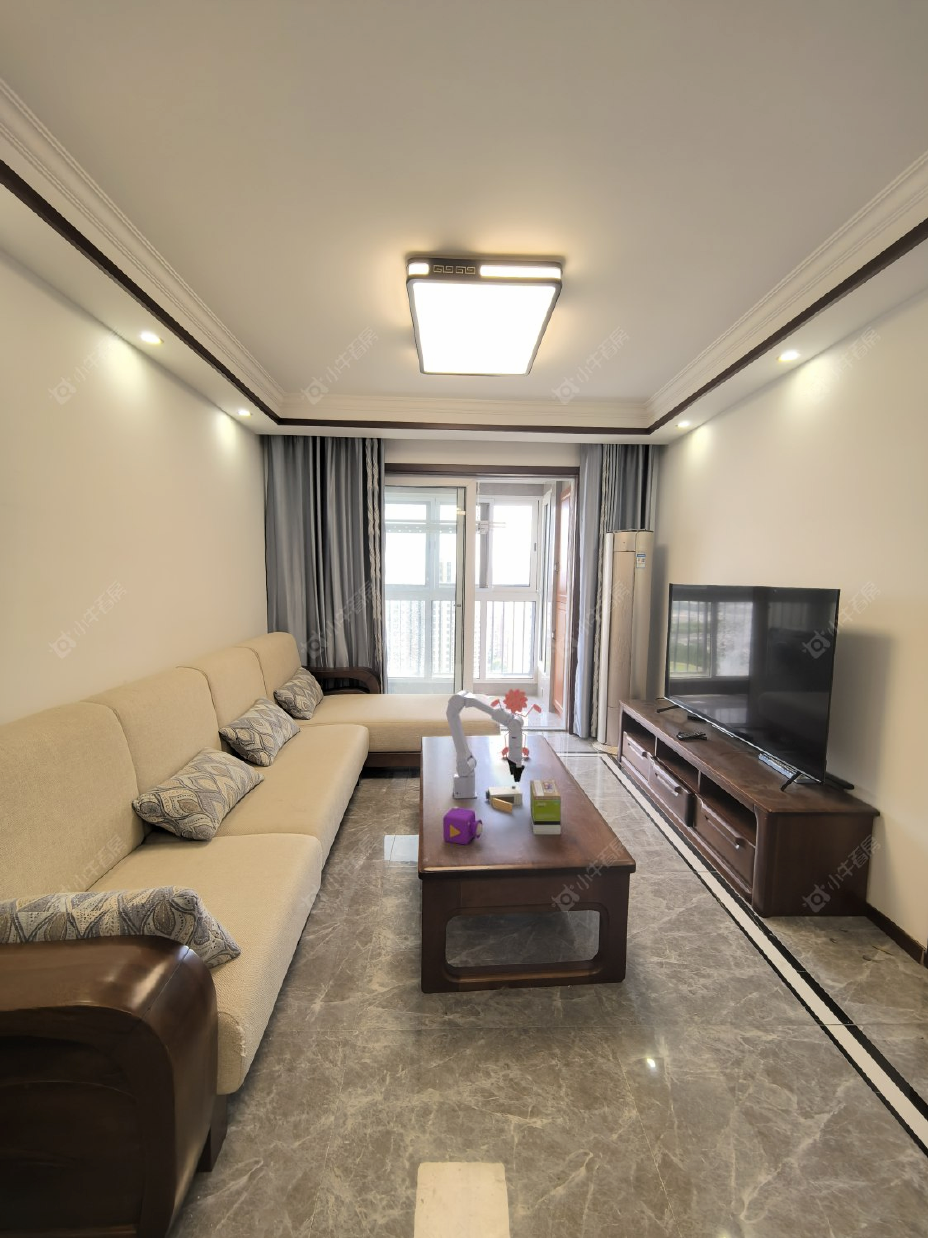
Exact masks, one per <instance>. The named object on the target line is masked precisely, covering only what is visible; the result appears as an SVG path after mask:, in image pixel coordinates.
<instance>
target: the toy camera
mask: <svg viewBox="0 0 928 1238" xmlns="http://www.w3.org/2000/svg"><path fill="white" fill-rule="evenodd" d="M442 818H443V819H442V820H443V821H442V823H443V824H442V825H443V826H442V828H443V829H442V830H443V831H442V832H443V833H442V834H443V839H444V840H443V841H445V842H449V843H454V844H460V845H467V844H468V843H469V842H470V841H471V840H472V839H473V837H474V838H475V839H477V840H478V839H480V838H481V835H482V833H483V820H482V819H478V820H476V812H475V811H474V810H472V809H467V808H462V807H459V806H455V805H454V806H453V807H452V808H451V809H450V810H449V811H448V812H447V813H445V814H444V816H443V817H442Z"/></svg>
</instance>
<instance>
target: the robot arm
mask: <svg viewBox="0 0 928 1238" xmlns="http://www.w3.org/2000/svg"><path fill="white" fill-rule="evenodd" d="M447 702H448V704H447V707H446V712H445V714H446V715H445V716H446V719H447V722H448V726H449V729H450V733H451V737H452V741H453V745H454V747H455V751H456V759H455V762H456V772H457V773H455V774H453V776H452V783H453V784H452V792H453V793H452V794H453V797H454V799H472V798H473V799H475V798H476V799H477V798H478V795H477V791H476V771H475V768H476V767H477V759H476V758H475V756H474V754H473V752H472V751H471V750H470V749H469V745H468V741H467V738H466V737H467V736H466V735H465V730H464V728H463V723H462V719H461V716H460V713H461V712H462V710H463V709H464V708H465V709H467V708H475V709H477V710H479V711H481V712H484V713H486V714H487V715H489V716H491V719H492V720H493V721H495V722H496V723H498V724H501V725H502V726H503V727H506V728H507V731H508V732H509V733H508V742H507V743H508V746H507V747H508V752H507V758H506V757H505V760H506V759H507V760H506V761H507V763H508V769H509V773H510V775H511V776H513V780H514V781H513V782H514V783H520V782H521V779H522V775H523V773H524V771H525V768H526V766H525V764H522V762H523V760H524V758H525V759H526V755H525V756H524V754H523V753H522V748H523V742H524V741H523V735H524V734H523V727H524V724H525V723H524V719H523V717H522V716H520V715H517V714H516V715H515V714H513V713H512V714H511V712H508V711H507V710H505V708H504V706H503V707H502V706H501V707H500V706H498V707H492V706H491V704H489V703H487V702H486V701H484V700H482V699H480V698H479V697H477V695H475V694H474V693H472V692H469V691H467V690H466V689H461V690H459V691H458V692H457V693H454V694H453V695H452V696H451V697H450V698H449V699H448V701H447Z"/></svg>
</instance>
